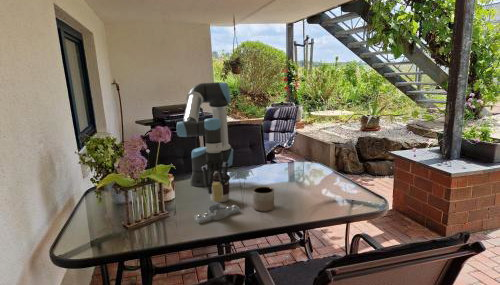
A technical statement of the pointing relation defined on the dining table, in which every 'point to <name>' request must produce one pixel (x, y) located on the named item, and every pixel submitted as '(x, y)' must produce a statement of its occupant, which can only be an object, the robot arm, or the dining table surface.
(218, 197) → the link peg
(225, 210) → the chain end
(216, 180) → the coffee cup
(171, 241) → the dining table surface
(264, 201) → the planter
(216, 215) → the chain end
